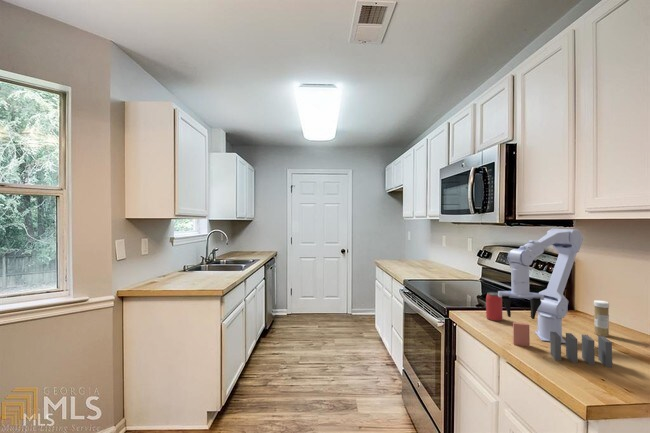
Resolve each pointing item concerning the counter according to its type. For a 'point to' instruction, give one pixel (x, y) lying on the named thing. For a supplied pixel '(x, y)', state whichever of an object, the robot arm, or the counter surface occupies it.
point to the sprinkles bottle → (601, 318)
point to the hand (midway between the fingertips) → (520, 317)
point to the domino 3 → (588, 349)
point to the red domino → (521, 334)
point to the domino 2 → (571, 348)
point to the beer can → (493, 306)
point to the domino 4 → (605, 351)
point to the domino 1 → (555, 346)
